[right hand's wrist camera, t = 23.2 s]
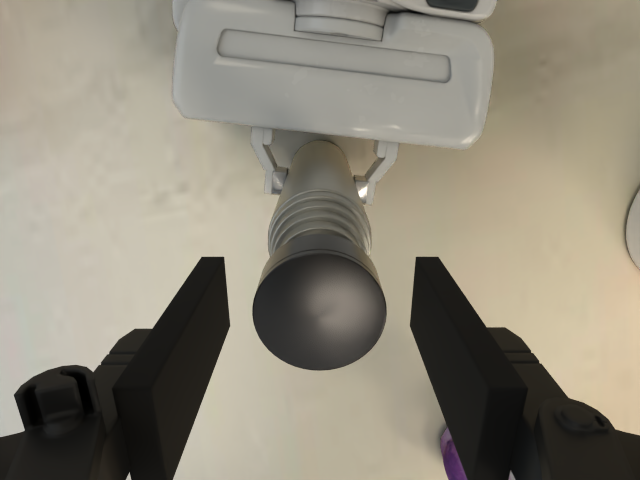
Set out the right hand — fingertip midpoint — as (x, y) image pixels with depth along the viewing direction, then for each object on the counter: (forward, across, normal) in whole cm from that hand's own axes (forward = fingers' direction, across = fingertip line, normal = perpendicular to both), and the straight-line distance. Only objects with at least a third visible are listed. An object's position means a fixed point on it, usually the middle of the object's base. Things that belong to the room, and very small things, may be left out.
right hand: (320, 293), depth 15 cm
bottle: (+23, 0, 0) cm, 23 cm away
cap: (-1, 0, 0) cm, 1 cm away
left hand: (+16, 0, -1) cm, 16 cm away
